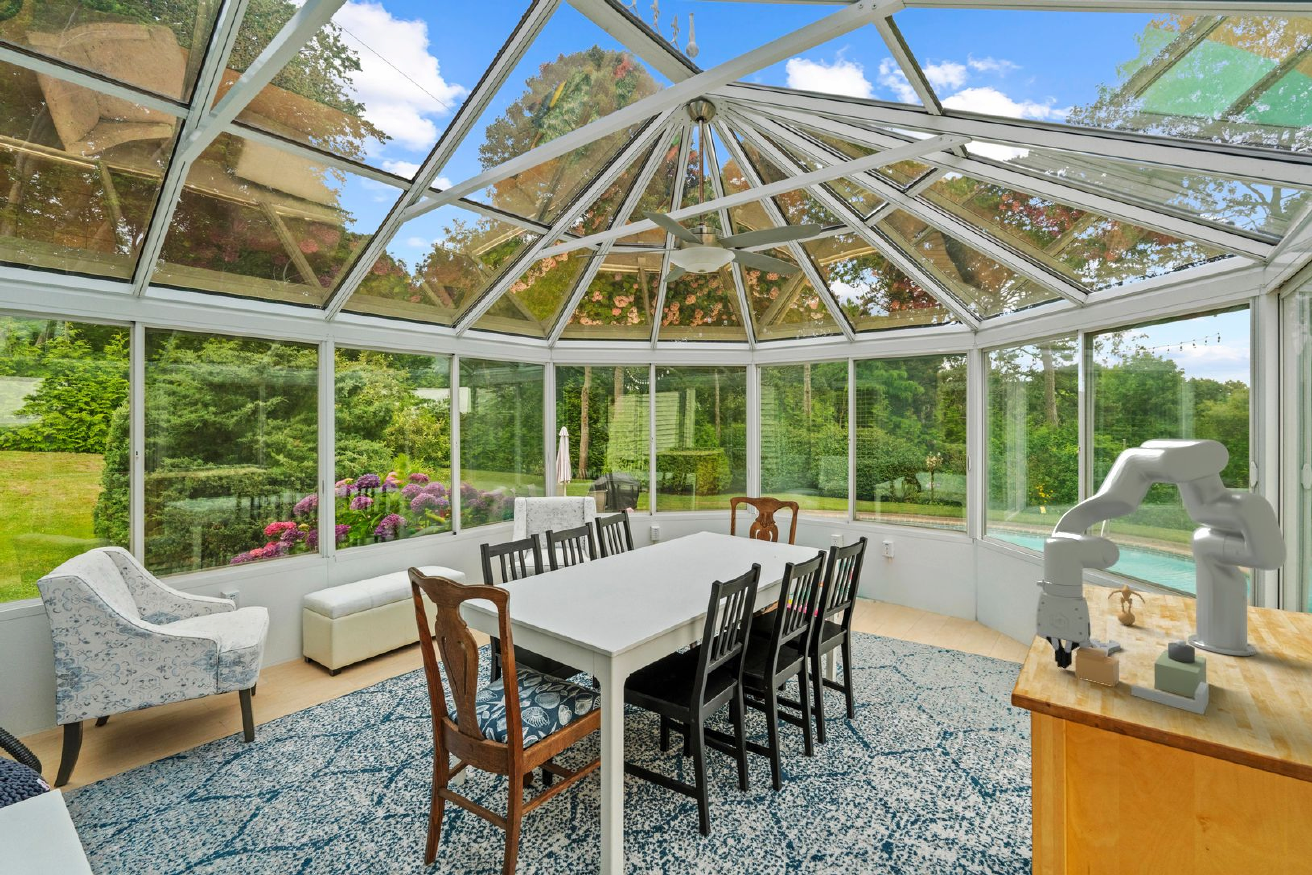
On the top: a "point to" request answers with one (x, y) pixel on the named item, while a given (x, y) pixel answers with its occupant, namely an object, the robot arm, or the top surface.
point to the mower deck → (1179, 679)
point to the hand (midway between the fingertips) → (1063, 666)
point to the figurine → (1127, 616)
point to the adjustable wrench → (1105, 645)
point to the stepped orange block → (1096, 666)
